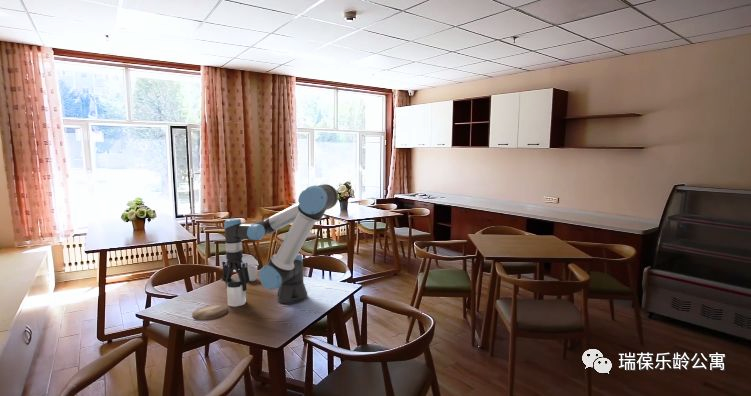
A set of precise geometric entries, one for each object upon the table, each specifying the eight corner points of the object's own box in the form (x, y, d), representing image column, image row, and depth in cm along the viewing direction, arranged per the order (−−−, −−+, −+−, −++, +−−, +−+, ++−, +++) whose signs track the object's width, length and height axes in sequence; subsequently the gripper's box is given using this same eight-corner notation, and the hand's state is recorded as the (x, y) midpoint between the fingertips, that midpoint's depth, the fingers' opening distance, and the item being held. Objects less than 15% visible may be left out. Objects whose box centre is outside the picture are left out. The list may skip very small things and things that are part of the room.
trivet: (234, 309, 183) (234, 306, 183) (210, 322, 169) (210, 319, 169) (210, 305, 188) (210, 303, 188) (185, 317, 175) (184, 314, 174)
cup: (236, 282, 224) (236, 268, 224) (243, 278, 232) (242, 265, 231) (254, 282, 223) (253, 269, 222) (260, 278, 230) (259, 265, 230)
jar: (223, 305, 188) (222, 281, 187) (235, 299, 196) (234, 276, 195) (238, 307, 185) (237, 283, 184) (250, 301, 192) (248, 278, 191)
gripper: (256, 250, 187) (258, 296, 190) (223, 247, 195) (225, 291, 197) (245, 254, 180) (248, 301, 183) (211, 250, 188) (214, 296, 190)
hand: (236, 296), depth 190 cm, fingers closed on jar, 8 cm apart
